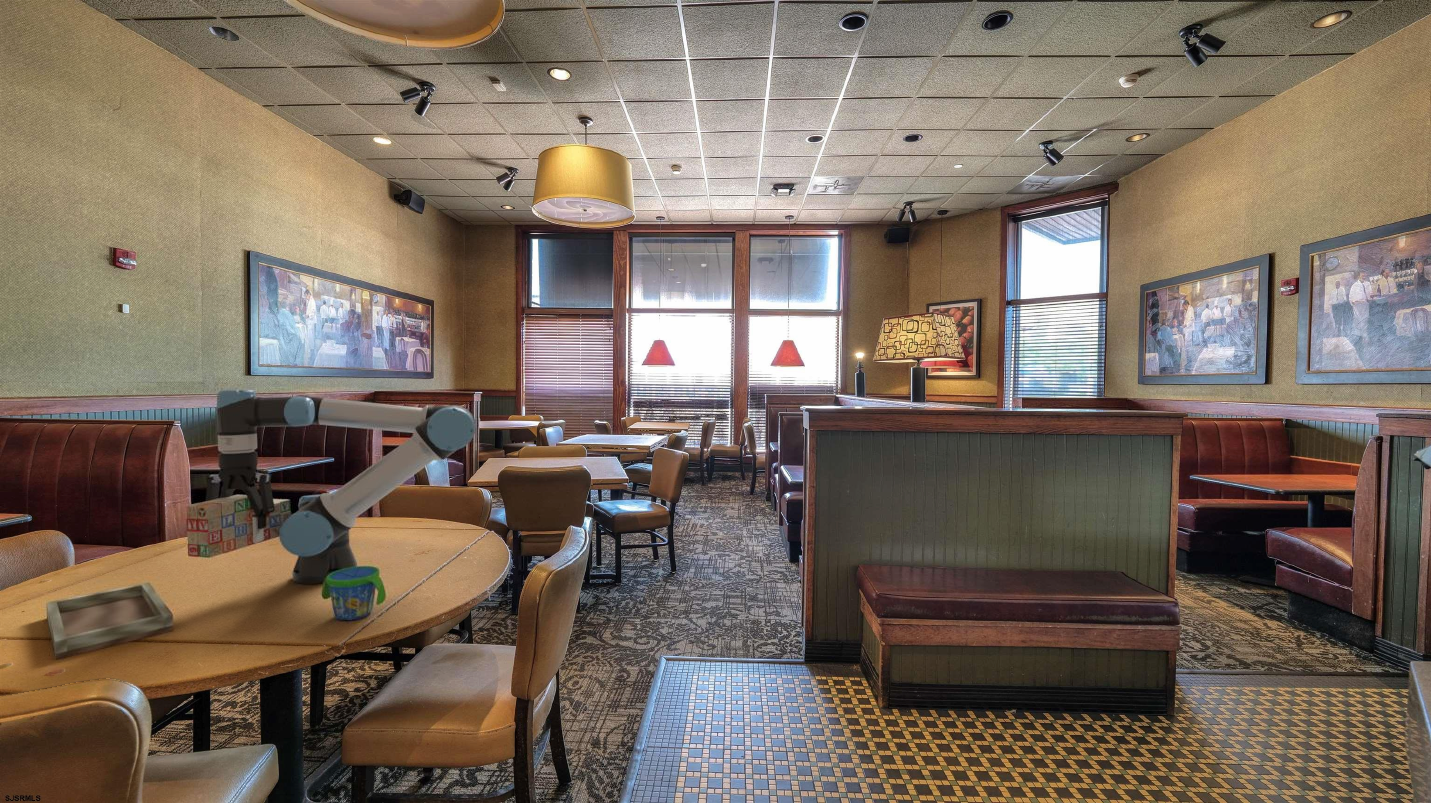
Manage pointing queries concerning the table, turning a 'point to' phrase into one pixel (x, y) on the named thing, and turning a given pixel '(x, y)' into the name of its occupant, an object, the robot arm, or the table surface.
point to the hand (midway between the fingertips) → (241, 541)
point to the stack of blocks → (228, 525)
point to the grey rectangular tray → (106, 619)
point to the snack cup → (353, 591)
